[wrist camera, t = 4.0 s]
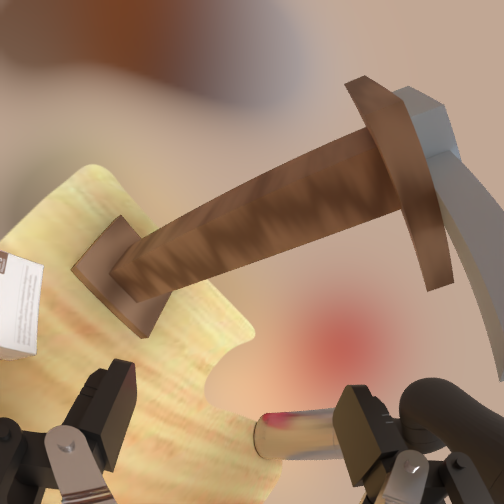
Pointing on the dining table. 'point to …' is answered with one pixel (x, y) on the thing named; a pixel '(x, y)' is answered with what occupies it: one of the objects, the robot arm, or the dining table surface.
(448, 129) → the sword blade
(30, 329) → the skincare box
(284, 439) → the robot arm
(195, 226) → the brown wooden stand
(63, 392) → the dining table surface
